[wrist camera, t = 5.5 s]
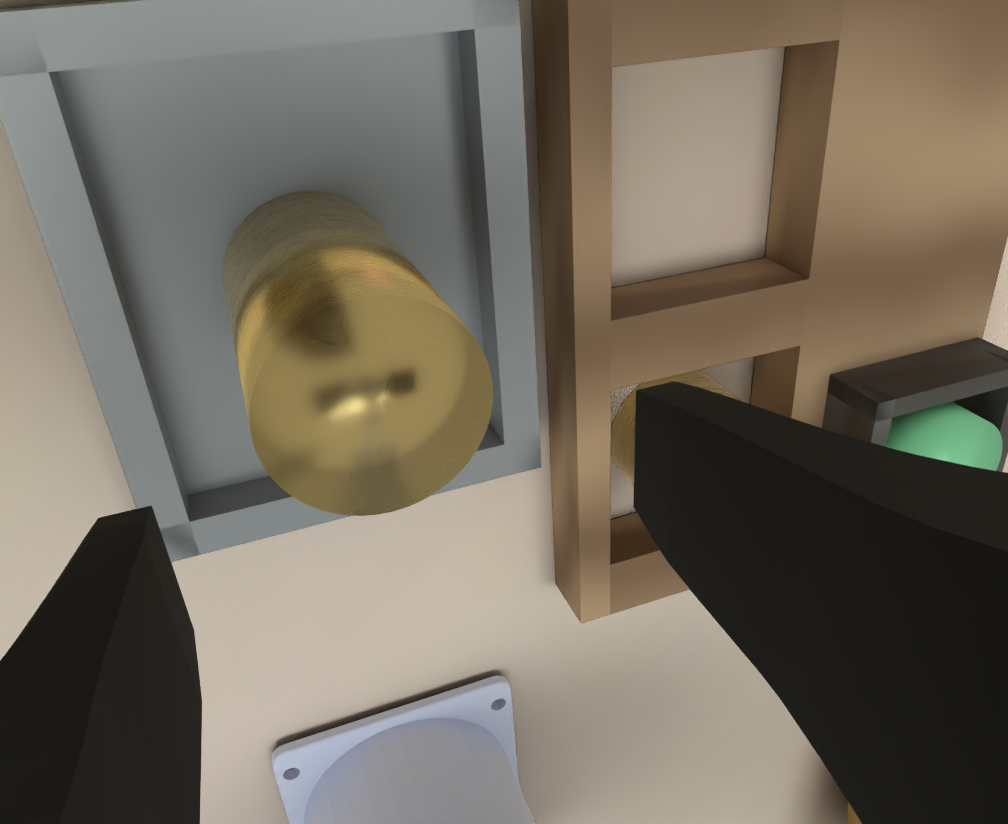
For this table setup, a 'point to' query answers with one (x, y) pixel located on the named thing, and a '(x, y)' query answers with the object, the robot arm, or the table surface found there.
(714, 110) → the table surface
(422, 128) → the tote
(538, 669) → the table surface
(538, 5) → the pallet board
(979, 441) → the button
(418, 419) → the cylinder
